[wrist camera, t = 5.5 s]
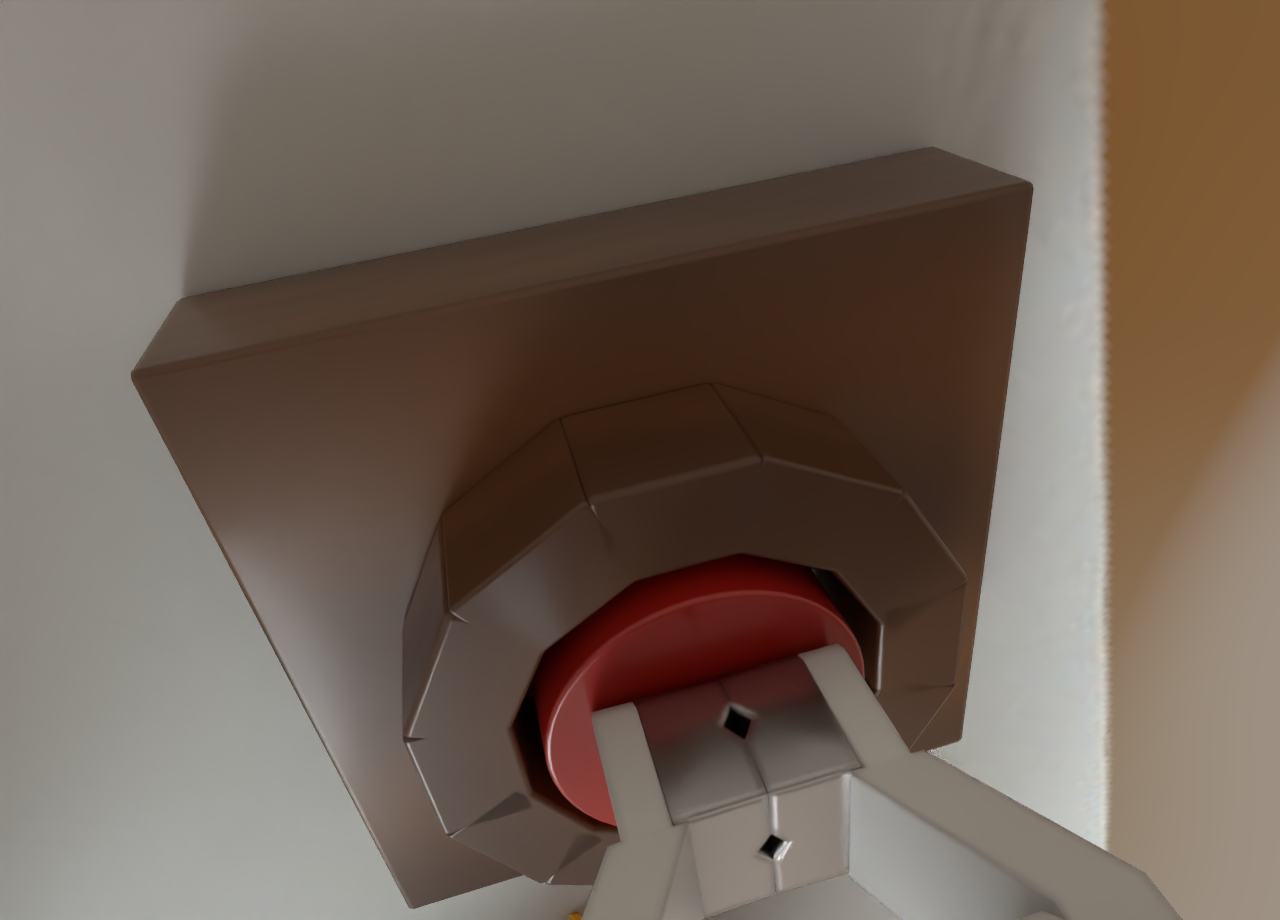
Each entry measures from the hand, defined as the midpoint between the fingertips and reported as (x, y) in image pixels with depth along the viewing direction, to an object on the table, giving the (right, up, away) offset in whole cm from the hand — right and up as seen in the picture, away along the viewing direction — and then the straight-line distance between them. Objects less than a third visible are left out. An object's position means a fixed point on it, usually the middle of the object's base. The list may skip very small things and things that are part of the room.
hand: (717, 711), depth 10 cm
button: (0, +1, +2) cm, 2 cm away
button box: (-1, +2, +4) cm, 4 cm away
